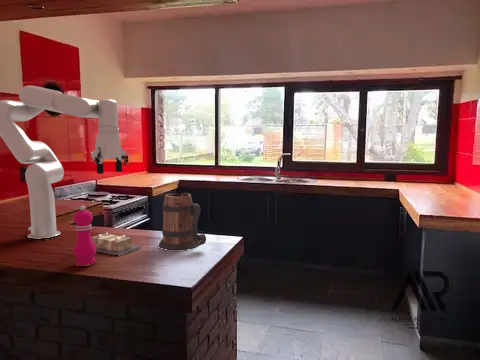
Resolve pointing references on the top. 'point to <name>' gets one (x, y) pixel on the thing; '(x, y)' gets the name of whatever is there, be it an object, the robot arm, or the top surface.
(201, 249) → the top surface
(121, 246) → the tan rectangular block
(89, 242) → the pepper mill
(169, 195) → the tankard
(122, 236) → the chassis
